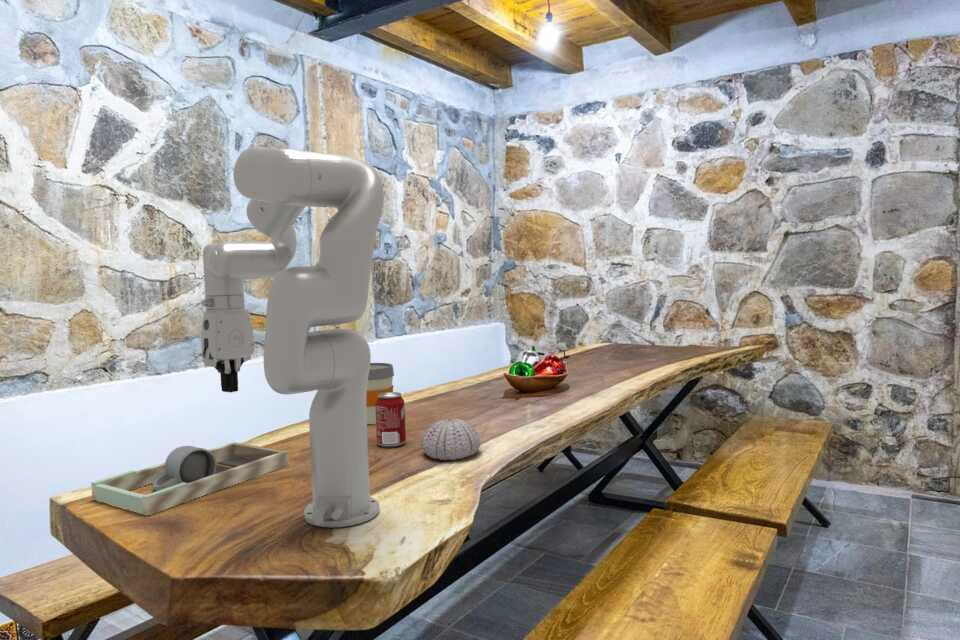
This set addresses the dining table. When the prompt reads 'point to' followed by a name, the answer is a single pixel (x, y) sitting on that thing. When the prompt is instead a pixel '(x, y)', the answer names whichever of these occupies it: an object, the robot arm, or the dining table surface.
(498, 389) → the dining table surface
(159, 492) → the shallow mint tray
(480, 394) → the dining table surface
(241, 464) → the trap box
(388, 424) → the soda can
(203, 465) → the ceramic mug
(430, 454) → the sea urchin shell
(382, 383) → the reusable coffee cup
